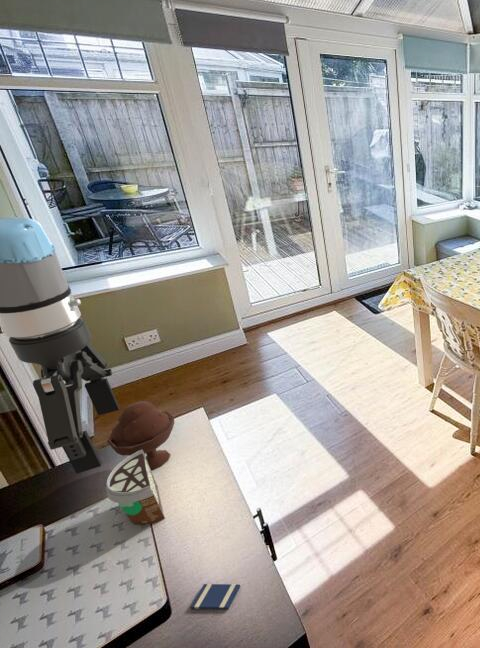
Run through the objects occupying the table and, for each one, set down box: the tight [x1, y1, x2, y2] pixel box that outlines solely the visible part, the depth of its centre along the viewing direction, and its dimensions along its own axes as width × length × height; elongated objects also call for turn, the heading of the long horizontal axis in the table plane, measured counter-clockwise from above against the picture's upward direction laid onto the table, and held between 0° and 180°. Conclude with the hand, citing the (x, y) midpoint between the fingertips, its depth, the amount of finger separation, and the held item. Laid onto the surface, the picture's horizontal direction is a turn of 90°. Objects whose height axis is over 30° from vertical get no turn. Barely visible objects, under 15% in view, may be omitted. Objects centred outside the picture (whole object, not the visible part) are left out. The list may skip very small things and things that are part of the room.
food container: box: [105, 450, 166, 526], centre depth 79 cm, size 12×6×10 cm, turn 45°
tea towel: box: [190, 583, 241, 610], centre depth 68 cm, size 6×3×1 cm, turn 91°
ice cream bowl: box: [106, 400, 175, 471], centre depth 89 cm, size 11×11×15 cm
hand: (100, 437), depth 67 cm, fingers open, 13 cm apart
